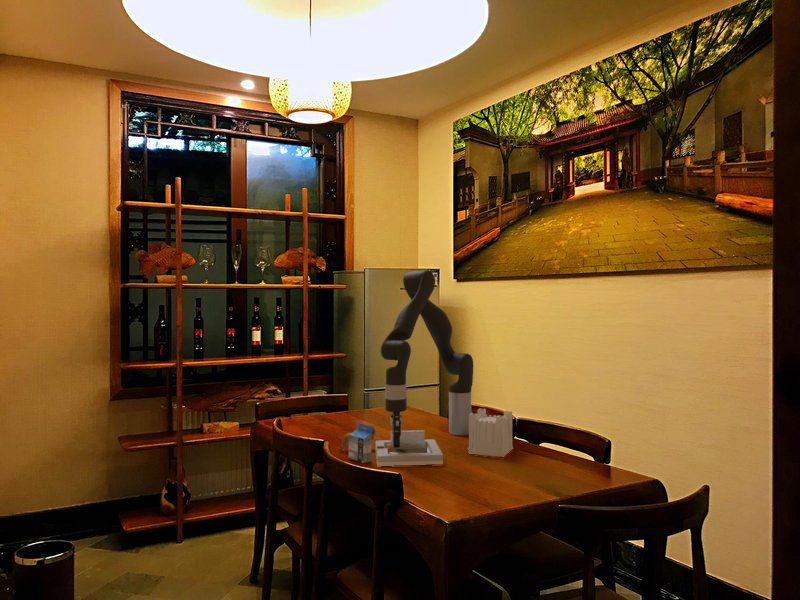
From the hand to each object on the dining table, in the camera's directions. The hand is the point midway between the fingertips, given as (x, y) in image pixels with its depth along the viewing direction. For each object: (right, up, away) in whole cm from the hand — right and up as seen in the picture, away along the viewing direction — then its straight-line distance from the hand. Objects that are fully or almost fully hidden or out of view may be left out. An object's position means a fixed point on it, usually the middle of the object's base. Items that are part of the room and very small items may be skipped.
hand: (396, 445), depth 211 cm
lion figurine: (-14, -5, +11) cm, 18 cm away
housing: (+4, -4, 0) cm, 6 cm away
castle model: (+33, -4, +8) cm, 35 cm away
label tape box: (-13, -5, -3) cm, 14 cm away
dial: (+4, -3, 0) cm, 5 cm away
